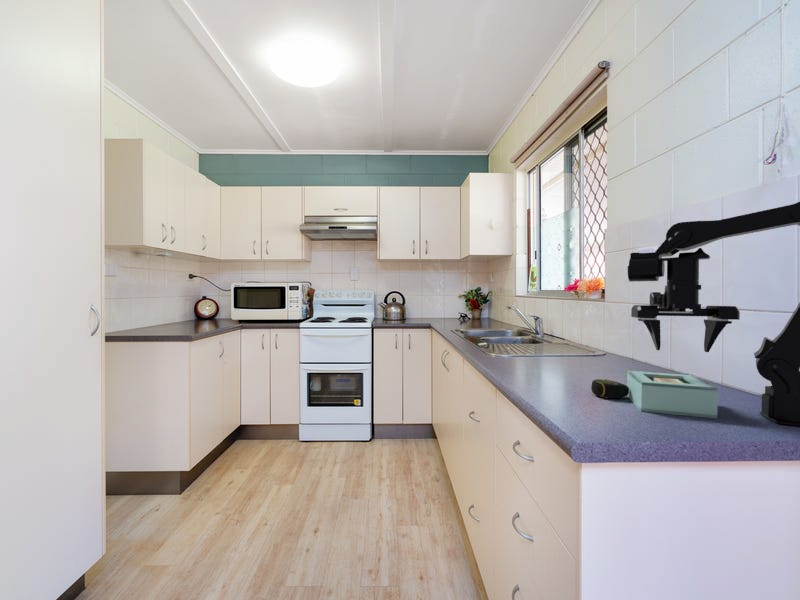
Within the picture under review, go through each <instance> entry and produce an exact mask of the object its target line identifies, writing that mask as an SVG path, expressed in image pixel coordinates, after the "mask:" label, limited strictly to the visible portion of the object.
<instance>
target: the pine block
mask: <svg viewBox="0 0 800 600" xmlns="http://www.w3.org/2000/svg"><path fill="white" fill-rule="evenodd" d="M654 381H660V382H673V383H683V382H681V381H679V380H678V379H668V378H654Z"/></svg>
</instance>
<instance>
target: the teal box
mask: <svg viewBox="0 0 800 600" xmlns="http://www.w3.org/2000/svg"><path fill="white" fill-rule="evenodd" d="M626 376H627V379H626V381H627V382H626V386H628V387H629V394H628V395H627V396H626V397H628V398H629V399H630V401H631V402H632V403H633V404H634V405H635V406H636V408H637V409H638V410H640V411H641V412H645V413H656V414H666V415H675V416H676V415H677V416H685V417H686V416H687V417H698V418H707V419H718V404H719V403H718V398H719V388H718V387H716V386H714V385H713V384H711V383H709V382H707V381H705V380H703V379H701V378H699V377H697V376H695V375H693V374H684V373H682V374H681V373H667V372H652V371H639V370H638V371H637V370H627V375H626ZM654 378H668V379H678V380H679V381H681V382H683V383H673V382H660V381H654Z"/></svg>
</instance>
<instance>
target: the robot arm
mask: <svg viewBox="0 0 800 600" xmlns="http://www.w3.org/2000/svg"><path fill="white" fill-rule="evenodd" d="M790 226H799V227H800V201H798V202H795V203H792V204H787V205H784V206H780V207H779V206H778V207H773V208H769V209H764V210H760V211H756V212H750V213H746V214H741V215H736V216H731V217H727V218H722V219H718V220H717V219H715V220H714V219H713V220H694V221H681V222H677V223H675V224H673V225H671V226H670V227H669V228H668V230H667V232H666V234H665V239H664V240H663V242H662V243H661V244H660V246H658V248H657V249H656V250H655V251H654V252H630V257H629V261H628V266H627V278H628V281H629V282H630V283H631V282H658V281H659V280H660V279H659V278H662V277H664V276H665V270H666V285H664V292H663V293H661V292H657V291H656V292H654V291H653V292H650V293H649V304H634V305H633V306H632V307H631V312H630V313H631V314H630V315H631V316H630V317H632V318H637V321H638V322H642V323H643V325H645V326H646V329H647V330H648V332H649V334H650V337H651V340H652V342H653V345H654V347H655V349H656V351H661V320H660V319H657V318H658V317H659V316H661V317H663V316H664V317H707V319H703V323H704V326H705V328H704V337H703V338H704V340H703V350H704V353H710V350H711V349H712V347H713V345H714V344H715V342H716V339H717V338H718V337H719V335H720V334H721V332H722V331H723V330H724V328H725V327H726V326H727V325H730V324H733V321H734V320H736V321H737V320H738V321H739V320H740V319H741V318H740V315H741V313H740V309H739V308H738V307H737V306H735V305H706V307H705V308H702V304H700V303H699V301H700V300H699V299H700V297H699V295H700V293H699V292H700V291H699V290H702V284H700V260H710V259H711V256H710V254H708V253H706V252H705V251H704V249H703V248H702V247H703V246H706V245H708V244H711V243H713V242H716V241H719V240H722V239H728V238H732V237H733V238H734V237H737V236H744V235H748V234H753V233H760V232H764V231H769V230H774V229H780V228H785V227H786V228H787V227H790ZM696 248H697V250H696V251H690V250H694V249H696ZM687 251H690V252H687ZM678 253H679V254H678ZM676 254H678V256H677V257H676V256H675V255H676ZM672 256H675V257H672ZM665 262H666V265H665ZM665 266H666V267H665ZM665 268H666V269H665ZM753 354H754V355H753V356H754V358H755V359H756V360H755V367H756V369H757V372H758V374H759V375H760V376H761V377H762V378H763V379H765V380H766V381H769V382H770V384H771V385H769V386H768V385H765V386H764V388H765V389H764V393H762V394H761V409H760V410H761V411H759V415H760V416H762V417H764V418H766V419H768V420H770V421H771V422H774V423H775V424H780V425H787V426H789V425H790V426H799V427H800V302H799V303H798V305H797V306H796V308H795V310H794V311H793V313H792V315H790V318H789V319H788V321H787V322H786V324H785V325H784V327H783V329H782V330H781V332H780V333H779V334H777V336H775V337H774V339H771V338H768V337H765V336H764V337H763V339H762V343H761V345H760V347H759V349H758V350H757V351H755V352H754V353H753Z"/></svg>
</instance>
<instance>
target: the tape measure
mask: <svg viewBox="0 0 800 600" xmlns="http://www.w3.org/2000/svg"><path fill="white" fill-rule="evenodd" d="M590 388H591V392H592V393H593V394H594V395H596V396H599V397H601V398H604V399H619V398H620V399H621V398H622V397H623V398H624V397H628V396H627V395H628V394H629V387H628V386H627V384H623V383H621V382H618V381H615V380H610V379H605V378H604V379H601V378H600V379H599V378H597V379H593V380H592V382H591V387H590Z"/></svg>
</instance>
